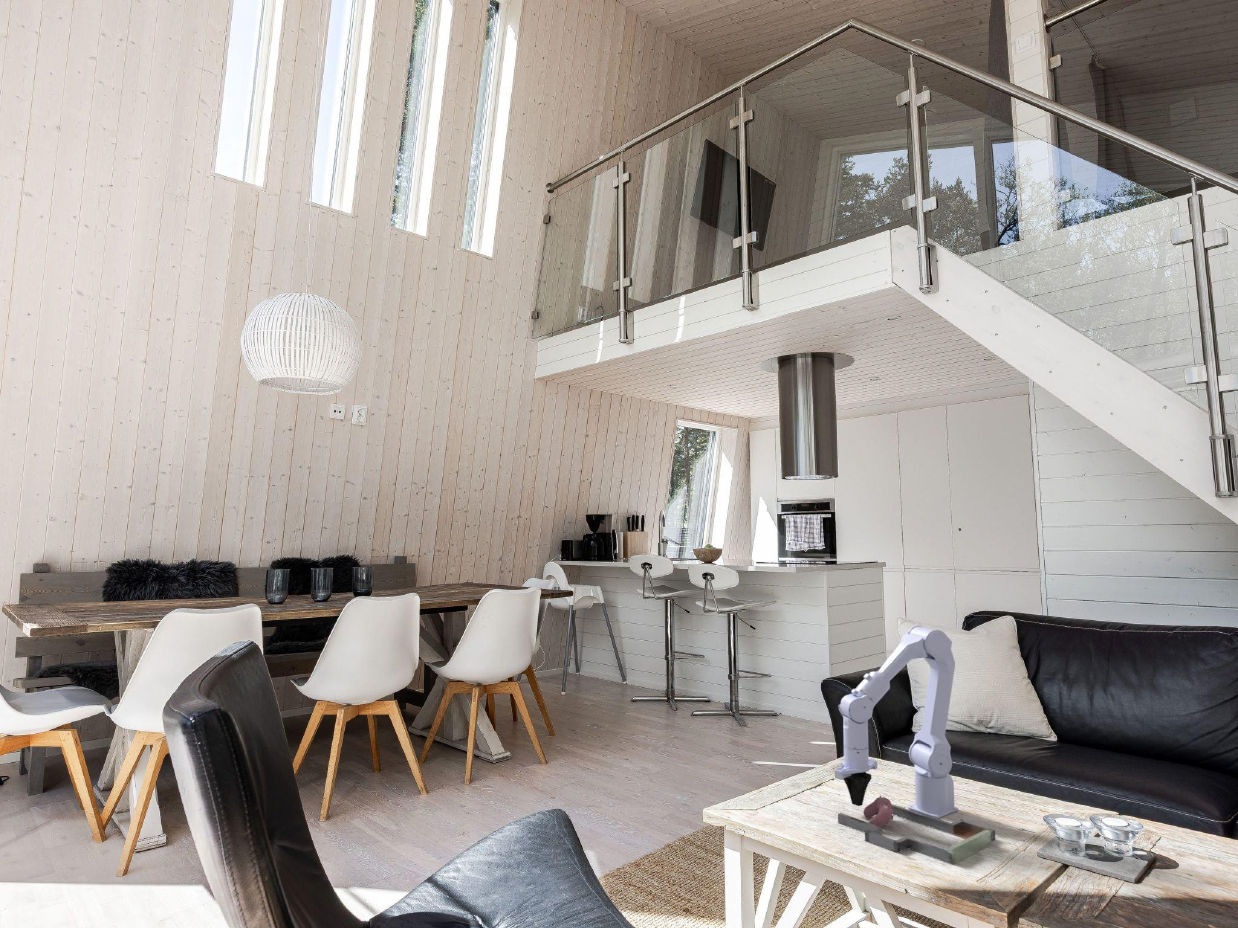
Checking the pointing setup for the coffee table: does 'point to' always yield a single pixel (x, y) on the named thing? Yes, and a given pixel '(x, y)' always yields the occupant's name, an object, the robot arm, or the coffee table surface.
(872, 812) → the video game controller
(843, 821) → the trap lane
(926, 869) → the coffee table surface
